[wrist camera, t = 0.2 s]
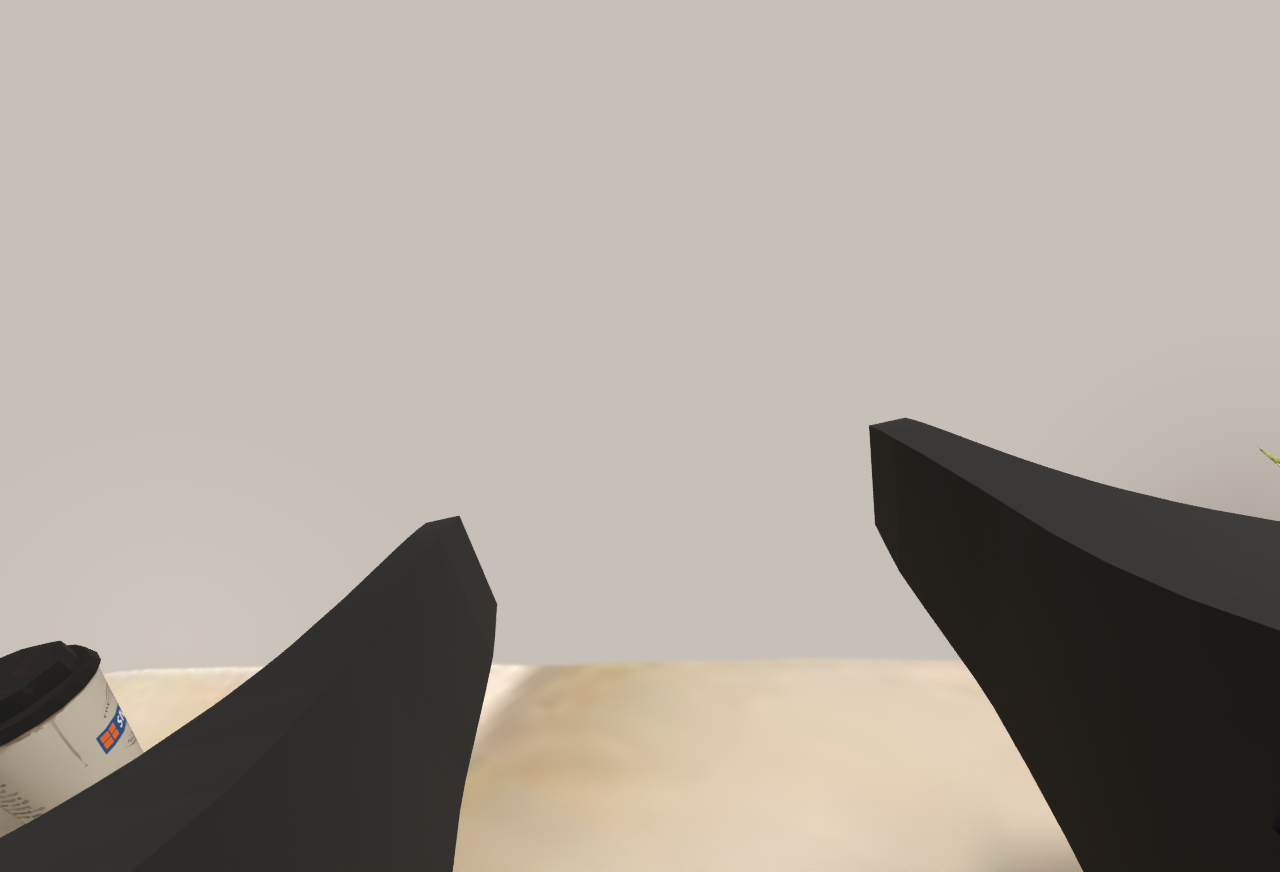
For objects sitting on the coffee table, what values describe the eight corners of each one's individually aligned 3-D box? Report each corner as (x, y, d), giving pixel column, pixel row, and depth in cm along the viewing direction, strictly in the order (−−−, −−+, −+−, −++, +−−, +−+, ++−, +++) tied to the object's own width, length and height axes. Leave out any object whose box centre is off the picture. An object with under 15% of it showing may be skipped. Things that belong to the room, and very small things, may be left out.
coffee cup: (25, 909, 30) (-121, 774, 26) (35, 814, 35) (-85, 688, 31) (187, 805, 34) (83, 671, 29) (176, 732, 39) (85, 610, 35)
